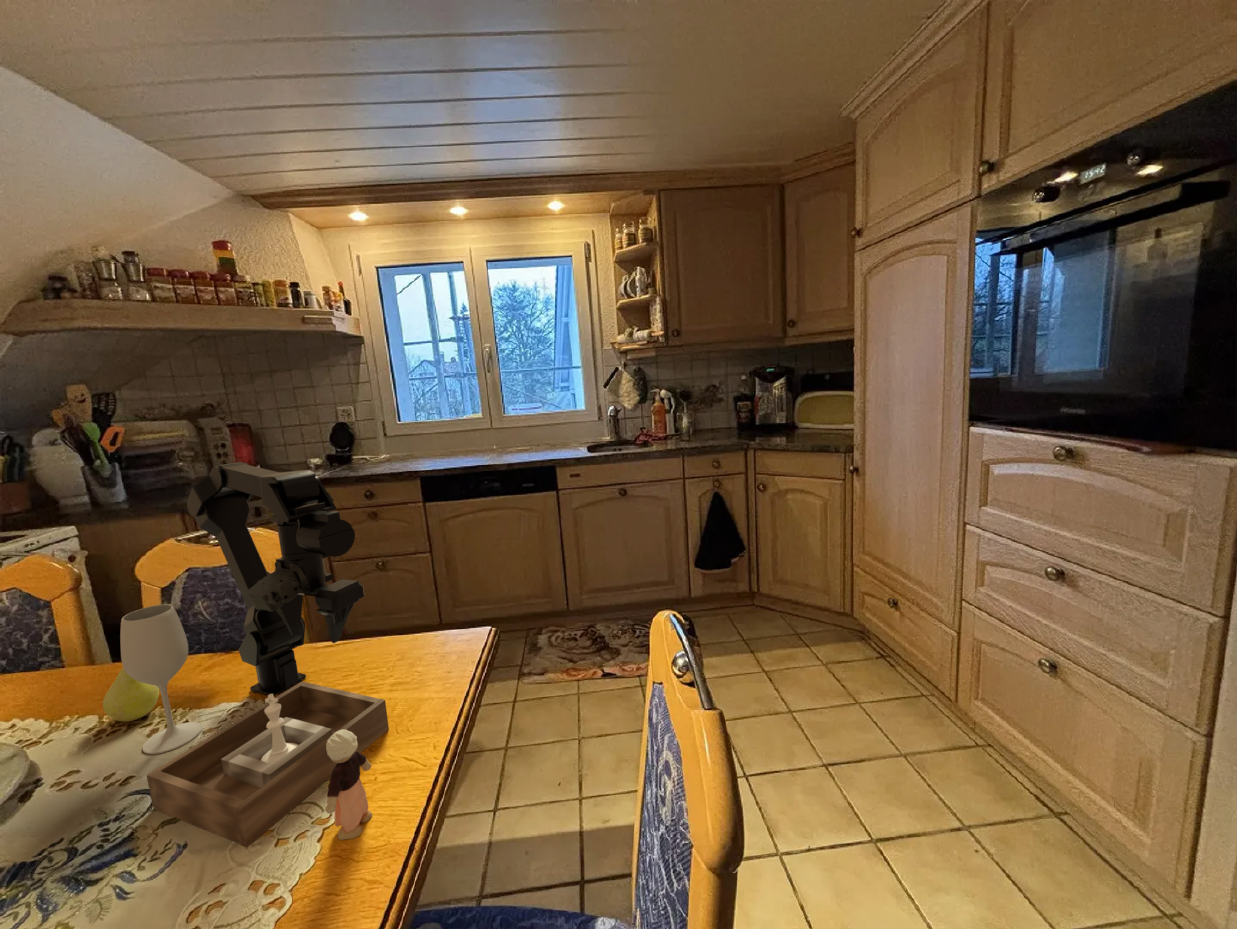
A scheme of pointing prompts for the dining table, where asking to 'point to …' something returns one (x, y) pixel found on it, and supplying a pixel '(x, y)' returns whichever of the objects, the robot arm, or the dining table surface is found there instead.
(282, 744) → the chess piece
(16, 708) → the dining table surface
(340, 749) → the grandmother figurine
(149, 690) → the fruit
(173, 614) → the wineglass
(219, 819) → the walnut box
